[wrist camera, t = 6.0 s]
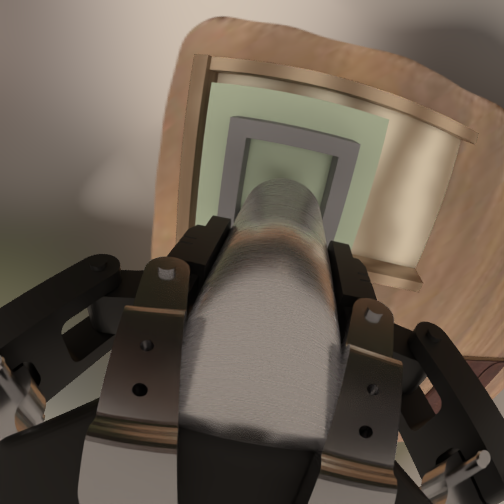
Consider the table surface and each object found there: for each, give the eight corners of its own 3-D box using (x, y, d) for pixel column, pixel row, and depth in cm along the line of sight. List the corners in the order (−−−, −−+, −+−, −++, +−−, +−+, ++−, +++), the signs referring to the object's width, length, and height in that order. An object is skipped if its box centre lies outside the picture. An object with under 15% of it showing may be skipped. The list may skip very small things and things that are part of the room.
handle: (329, 188, 14) (391, 432, 3) (309, 257, 16) (308, 491, 5) (249, 171, 14) (118, 381, 3) (238, 241, 16) (152, 461, 5)
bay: (458, 128, 22) (484, 134, 17) (408, 272, 31) (421, 297, 26) (211, 61, 23) (194, 54, 19) (192, 226, 32) (175, 246, 28)
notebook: (403, 414, 47) (404, 421, 45) (458, 353, 37) (462, 361, 35) (451, 412, 46) (453, 418, 44) (504, 355, 36) (508, 362, 35)
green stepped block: (369, 116, 22) (400, 122, 15) (335, 239, 29) (347, 288, 22) (229, 86, 23) (200, 79, 16) (212, 213, 30) (184, 253, 22)
